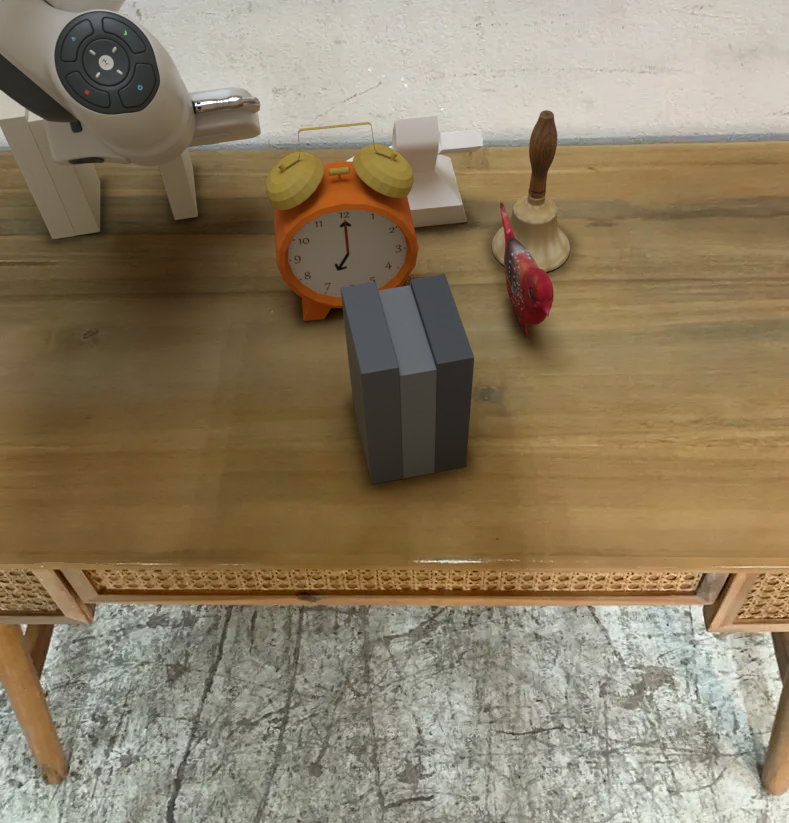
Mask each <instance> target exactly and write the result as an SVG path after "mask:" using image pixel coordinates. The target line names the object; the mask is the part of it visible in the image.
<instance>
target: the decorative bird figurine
mask: <svg viewBox="0 0 789 823" xmlns="http://www.w3.org/2000/svg"><path fill="white" fill-rule="evenodd" d="M499 210H500V216H501V223H502V227H503V228H504V234H505V253H504V264H505V266H504V272H505V273H504V274H505V283H506V289H507V295H508V297H509V300H510V303H511V306H512V308H513V310H514V312H515V314H516V316H517V318H518V323H519V325H520V328H521V329H522V330H523V331H524V334H525V335H526V339H527V340H529V332H528V330H527V328H528V327H527V326H528V325H529V326H536V325H540V324H541V323H543V322H544V321H545V319H546V318H547V317H549V316H550V311H551V310H552V306H553V301H554V287H553V282H552V279H551V278H550V276H549V274H548V272H545V271H544V270H543V269H540V268H539V267H538V266H537V264H536V262H535V261H534V259H533V257H532V256H531V254H530V253H529V252H528V251H527V249H526V248H525V247H524V246H523V245H522V244H521V243H520V242H519V241H518V240H516V238H515V236H514V234H513V231H512V228H511V225H510V222H509V221H510V218H509V216H508V213H507V210H506V208H505V205H504V203H503V202H502V201H500V204H499Z"/></svg>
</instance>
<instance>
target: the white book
mask: <svg viewBox="0 0 789 823" xmlns="http://www.w3.org/2000/svg"><path fill="white" fill-rule="evenodd" d="M158 169H159V172H160V176H161V180H162V184H163V187H164V189H165V192H166V196H167V199H168V204H169V207H170V210H171V212H172V216H173V219H174V221H179V220H185V219H191V218H198V217H199V213H198V204H197V194H196V184H195V173H194V167H193V164H192V160H191V155H190V151H189V147H188V148H186V150H185V151H184V152H183V153H182V154H181V155H180V156H179V157H177V158H176V159H174V160H173V161H171V162H169V163H166V164H163V165H159V166H158Z"/></svg>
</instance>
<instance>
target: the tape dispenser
mask: <svg viewBox="0 0 789 823" xmlns="http://www.w3.org/2000/svg"><path fill="white" fill-rule="evenodd" d="M438 116H439V115H413V116H406V117H402V118H396V119H394V123H393V128H392V135H391V136H392V138H391V145H389V146H388V147H390V148H392V149H394V150H395V151H397V152H398V153H400V154H401V155H402V156H403V157H404V158H405V159H406V160H407V161H408V163H409V164H410V166H411V168H412V171H413V177H414V182H413V185H412V189H411V191H410V193H409V194H408V196H407V197H408V202H409V206H410V211H411V215H412V220H413V225H414V228H422V227H434V226H442V225H443V226H444V225H452V224H462V223H463V224H464V223H468V219H467V218H468V217H467V214H466V211H465V208H464V207H465V206H464V203H463V200H462V196H461V192H460V188H459V185H458V180H457V178H456V173H455V170H454V166H453V162H452V159H451V157H449V156H447V155H452V154H462V153H472V152H473V153H474V152H477V151H478V150H481V149H482V147H484V139H483V130H482V128H476V129H475V128H474V129H464V130H454V131H442V132H439V118H438ZM353 158H354V156H352V157H350V158H348V159H346V161H349V162H353Z"/></svg>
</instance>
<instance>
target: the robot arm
mask: <svg viewBox="0 0 789 823" xmlns="http://www.w3.org/2000/svg"><path fill="white" fill-rule="evenodd" d="M125 2H126V0H0V92H1V91H3V92H4V93H5V94H6V95H8V96H9V97H10V98H12V99H13V100H14V101H16V102H17V103H18V104H20V105H21V106H23V107H24V108H26V109H27V110H29V111H31V112H32V113H34V114H36V115H37V116H39V117H41V118H43V120H44V125H45V130H46V134H47V138H48V143H49V147H50V151H51V155H52V159H53V161H54V162H55V163H57V164H59V165H72V164H74V165H76V164H87V163H93V164H103V163H113V164H121V165H131V164H133V165H137V166H140V167H159V165H163V164H166V163H169V162H171V161H173V160H174V159H176V158H177V157H179V156H180V155H181V154H182V153H183V152H184V151H185V150H186V148H188V149H189V148H193V147H194V148H195V147H201V146H210V145H218V144H221V143H228V142H236V141H243V140H249V139H250V140H251V139H254V138H256V137H259V136H260V135H261V134H262V128H261V122H260V117H259V112H260V111H261V101H260V100H259V98H258V97H257V96H253V94H252V93H250V92H249V90H247V89H245V88H243V87H235V86H233V87H223V88H214V89H208V90H201V91H200V90H199V91H193V92H189V91H188V88H187V86H186V84H185V82H184V80H183V79H182V76H181V73H180V71H179V69H178V66H177V65H176V63H175V61H174V60H173V58H172V56H171V54H170V52H168V50H167V49H166V48H165V47H164V45H163V44H162V43H161V41H160V40H159V39H158V38H156V36H155V35H153V34H152V32H150V31H149V30H148V29H147V28H146V27H145V26H144V25H142V24H140V23H139V22H138V21H136V20H135V19H133V18H132V17H130V16H128V15H126V14H124V13H121V12H119V11H120V10H121V8H122V7H123V5H124V4H125Z"/></svg>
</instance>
